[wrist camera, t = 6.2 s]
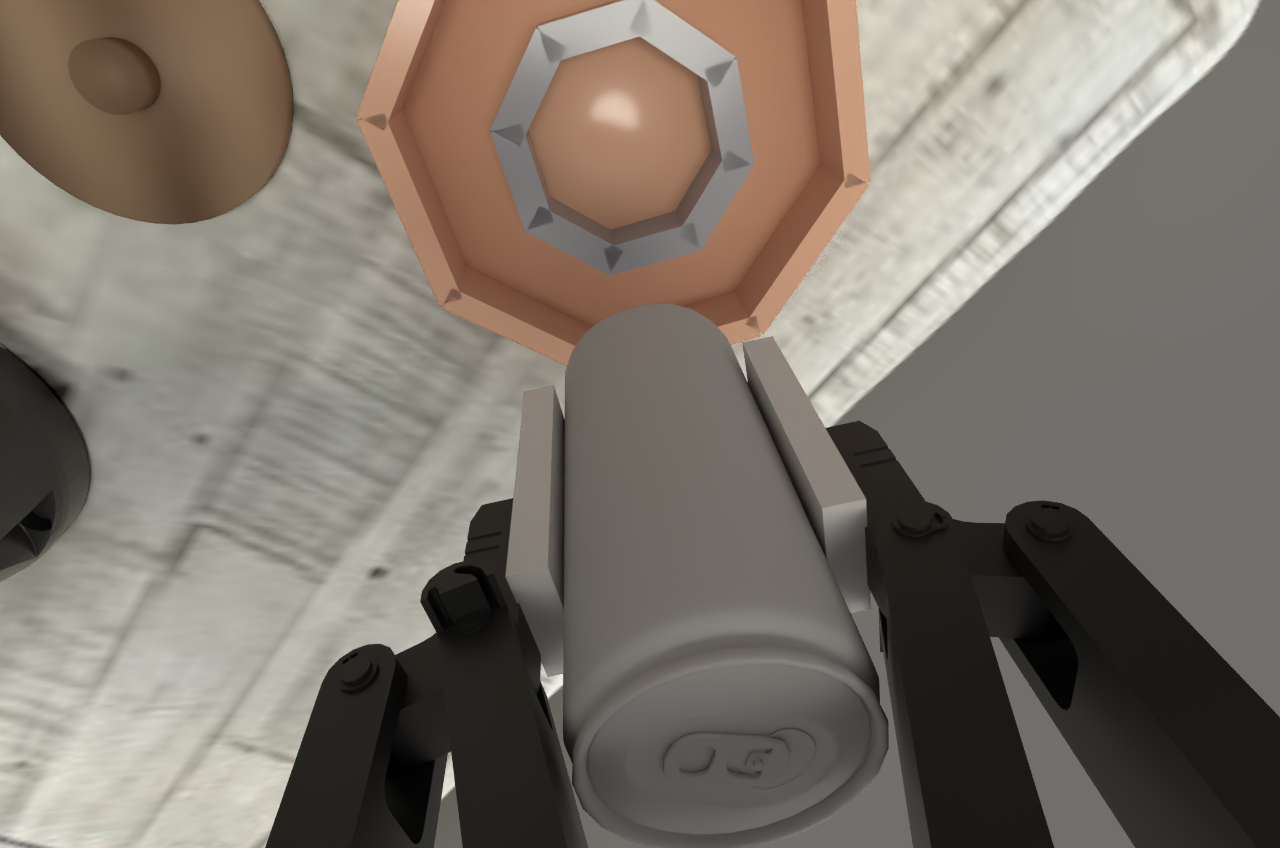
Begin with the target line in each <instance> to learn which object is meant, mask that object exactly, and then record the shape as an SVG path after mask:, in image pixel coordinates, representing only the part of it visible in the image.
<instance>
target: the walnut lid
mask: <svg viewBox="0 0 1280 848" xmlns="http://www.w3.org/2000/svg"><path fill="white" fill-rule="evenodd" d="M292 121H293V90H292V84H291V78H290V72H289V68H288V64H287V61H286V58H285V54H284V51H283V48H282V46H281V43H280V41H279V38H278V36H277V33H276V31H275V29H274V27H273V25H272V23H271V21H270V19H269V17H268V16H267V14H266V12H265V10H264V8H263V7H262V5H261V4H260V2H259V1H258V0H0V135H1V137H2V138H3V139H4V140H5V141H6V142H7V143H8V144H9V145H10V146H11V147H12V148H13V149H14V150H15V151H16V153H17V154H18V155H19V156H21V157H22V158H23V159H24V160H25V161H26V162H27V163H28V164H30V165H31V166H32V167H33V168H34V169H35V170H36V171H38V172H39V173H40V174H42V175H43V176H44V177H46V178H47V179H48V180H50V181H51V182H52V183H54V184H55V185H56V186H58V187H60V188H61V189H63V190H65V191H66V192H68V193H69V194H71V195H73V196H74V197H76V198H78V199H80V200H82V201H84V202H86V203H88V204H90V205H92V206H94V207H96V208H99V209H102V210H104V211H107V212H110V213H112V214H115V215H118V216H122V217H126V218H129V219H133V220H137V221H143V222H150V223H158V224H183V223H194V222H198V221H203V220H207V219H211V218H214V217H216V216H219V215H222V214H224V213H226V212H228V211H230V210H232V209H233V208H235V207H237V206H239V205H240V204H242V203H243V202H245V201H246V200H247V199H249V198H250V197H251V196H253V195H254V194H255V193H256V192H257V191H259V190H260V189H261V188H262V187H263V186H264V185H265V184H266V183H267V182H268V180H269V179H270V178H271V177H272V176H273V174H274V173H275V171H276V169H277V168H278V166H279V165H280V163H281V161H282V159H283V156H284V154H285V151H286V149H287V147H288V143H289V139H290V134H291V130H292Z"/></svg>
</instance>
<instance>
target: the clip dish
mask: <svg viewBox="0 0 1280 848" xmlns="http://www.w3.org/2000/svg"><path fill="white" fill-rule="evenodd" d="M357 117H359V118H360V119H359V120H357V123H358V125H359V127H360V130H361V132H362V134H363V136H364V139H365V141H366V143H367V145H368V148H369V150H370V152H371V154H372V157H373V159H374V161H375V163H376V166H377V168H378V170H379V172H380V174H381V177H382V179H383V181H384V183H385V186H386V188H387V190H388V192H389V195H390V197H391V199H392V201H393V204H394V206H395V208H396V210H397V213H398V215H399V217H400V219H401V222H402V224H403V226H404V228H405V231H406V233H407V235H408V237H409V240H410V242H411V244H412V246H413V248H414V251H415V253H416V255H417V257H418V260H419V262H420V264H421V266H422V269H423V271H424V273H425V275H426V278H427V280H428V282H429V284H430V287H431V289H432V291H433V293H434V296H435V298H436V300H437V302H438V305H442V304H443V306H442V309H445V310H447V311H449V312H451V313H453V314H455V315H458V316H460V317H462V318H464V319H466V320H468V321H471V322H473V323H475V324H477V325H479V326H481V327H484V328H486V329H488V330H490V331H492V332H494V333H497V334H499V335H501V336H503V337H505V338H507V339H510V340H512V341H514V342H516V343H518V344H520V345H523V346H525V347H527V348H529V349H531V350H533V351H536V352H538V353H540V354H542V355H544V356H546V357H549V358H551V359H553V360H555V361H557V362H559V363H562V364H564V365H566V366H567V365H568V362H569V359H570V355H571V352H572V351H573V349H574V348H575V346H576V345H577V343H578V342H579V340H580V339H581V338H582V336H583V335H584V333H586V332H587V331H588V330H589V329H591V328H592V327H593V326H594V325H596V324H597V323H598V322H599V321H601V320H602V319H605V318H607V317H609V316H611V315H613V314H615V313H618V312H620V311H622V310H626V309H629V308H633V307H637V306H641V305H645V304H666V303H671V304H675V305H678V306H682V307H686V308H689V309H693V310H694V311H696V312H698V313H699V314H701V315H703V316H704V317H706V318H708V319H709V320H711V321H712V322H713V323H714V324H715V325H716V326H717V327H718V328H719V329H720V330H721V332H722V333H723V334H724V335H725V336H726V337H727V339H728V341H729V343H730V345H731V344H734V343H738V342H741V341H745V340H748V339H752V338H756V337H759V336H760V332H761V333H763V334H764V333H765V331H766V330H767V328H768V327H769V326H770V324H771V323H772V321H773V320H774V319H775V317H776V316H777V314H778V313H779V312H780V310H781V309H782V307H783V306H784V304H785V303H786V302H787V300H788V299H789V297H790V296H791V295H792V293H793V292H794V290H795V289H796V288H797V286H798V285H799V283H800V282H801V281H802V279H803V278H804V276H805V275H806V273H807V272H808V271H809V269H810V268H811V266H812V265H813V264H814V262H815V261H816V259H817V258H818V257H819V255H820V254H821V252H822V251H823V250H824V248H825V247H826V245H827V244H828V242H829V241H830V240H831V238H832V237H833V235H834V234H835V233H836V231H837V230H838V228H839V227H840V226H841V224H842V223H843V221H844V220H845V219H846V217H847V216H848V214H849V213H850V211H851V210H852V209H853V207H854V206H855V204H856V203H857V202H858V200H859V199H860V197H861V196H862V195H863V193H864V192H865V190H866V189H867V188H868V186H869V185H868V184H866V182H869V181H870V171H869V159H868V146H867V133H866V121H865V108H864V95H863V83H862V70H861V57H860V45H859V32H858V19H857V7H856V0H398V3H397V6H396V8H395V11H394V14H393V17H392V19H391V22H390V25H389V28H388V30H387V33H386V36H385V39H384V41H383V44H382V47H381V50H380V52H379V55H378V58H377V61H376V63H375V66H374V69H373V72H372V74H371V77H370V80H369V83H368V85H367V88H366V91H365V94H364V96H363V99H362V102H361V105H360V107H359V110H358V113H357Z"/></svg>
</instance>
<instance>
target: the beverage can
mask: <svg viewBox="0 0 1280 848" xmlns="http://www.w3.org/2000/svg"><path fill="white" fill-rule="evenodd" d="M563 740H564V744H565V747H566V749H567V752H568V754H569V756H570V758H571V761H572V763H573V772H572V773H573V774H572V784H573V787H574V789H575V791H576V794H577V796H578V798H579V801H580V803H581V805H582V807H583V809H584V810H585V811H586V812H587V813H588V814H589V815H590V816H591V817H592V818H593V819H594V820H595V821H596V822H597V823H598V824H599V825H600V826H601V827H603V828H604V829H606V830H608V831H610V832H612V833H614V834H616V835H617V836H619V837H621V838H623V839H625V840H627V841H630V842H633V843H636V844H640V845H644V846H648V847H651V848H751V847H755V846H761V845H766V844H770V843H773V842H776V841H778V840H781V839H784V838H787V837H790V836H793V835H796V834H799V833H802V832H804V831H806V830H808V829H810V828H812V827H814V826H816V825H817V824H819V823H821V822H823V821H825V820H827V819H829V818H831V817H833V816H834V815H836V814H837V813H838V812H840V811H841V810H842V809H844V808H845V807H846V806H847V805H849V804H850V803H851V802H853V801H854V800H855V799H856V798H858V797H859V796H860V795H861V794H862V793H863V791H864V790H865V789H866V788H867V786H868V785H869V784H870V783H871V782H872V780H873V779H874V778H875V777H876V776H877V774H878V773H879V771H880V768H881V766H882V763H883V761H884V758H885V756H886V753H887V751H888V719H887V717H886V715H885V713H884V711H883V709H882V707H881V705H880V693H879V677H878V675H877V672H876V669H875V667H874V665H873V662H872V660H871V658H870V656H869V653H868V651H867V649H866V647H865V644H864V642H863V640H862V638H861V636H860V633H859V631H858V629H857V626H856V624H855V622H854V620H853V618H852V615H851V613H850V611H849V609H848V606H847V604H846V602H845V600H844V597H843V595H842V593H841V591H840V588H839V586H838V584H837V582H836V580H835V577H834V575H833V573H832V571H831V568H830V566H829V564H828V562H827V559H826V557H825V555H824V553H823V550H822V548H821V546H820V544H819V542H818V539H817V537H816V535H815V533H814V530H813V528H812V526H811V524H810V521H809V519H808V517H807V515H806V513H805V510H804V508H803V506H802V504H801V501H800V499H799V497H798V495H797V492H796V490H795V488H794V486H793V483H792V481H791V479H790V477H789V475H788V472H787V470H786V468H785V466H784V463H783V461H782V459H781V457H780V454H779V452H778V450H777V448H776V445H775V443H774V441H773V439H772V437H771V434H770V432H769V430H768V428H767V425H766V423H765V421H764V419H763V416H762V414H761V412H760V410H759V408H758V405H757V403H756V401H755V399H754V396H753V394H752V392H751V390H750V387H749V385H748V383H747V381H746V378H745V376H744V374H743V372H742V370H741V367H740V365H739V363H738V361H737V358H736V356H735V354H734V352H733V350H732V348H731V346H730V343H729V341H728V339H727V337H726V336H725V335H724V334H723V333H722V332H721V330H720V329H719V328H718V327H717V326H716V325H715V324H714V323H713V322H712V321H711V320H709V319H708V318H706V317H704V316H703V315H701V314H699V313H698V312H696V311H694V310H693V309H689V308H686V307H682V306H678V305H675V304H671V303H666V304H645V305H641V306H637V307H633V308H629V309H626V310H622V311H620V312H618V313H615V314H613V315H611V316H609V317H607V318H605V319H602V320H601V321H599V322H598V323H597V324H596V325H594V326H593V327H592V328H591V329H589V330H588V331H587V332H586V333H584V335H583V336H582V338H581V339H580V340H579V342H578V343H577V345H576V346H575V348H574V349H573V351H572V352H571V355H570V359H569V362H568V365H567V368H566V371H565V474H564V654H563Z"/></svg>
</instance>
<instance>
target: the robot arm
mask: <svg viewBox="0 0 1280 848" xmlns="http://www.w3.org/2000/svg"><path fill="white" fill-rule="evenodd" d="M743 350H744V357H745V364H746V371H747V379H748V385H749V387H750V390H751V392H752V394H753V396H754V399H755V401H756V403H757V405H758V408H759V410H760V412H761V414H762V416H763V419H764V421H765V423H766V425H767V428H768V430H769V432H770V434H771V437H772V439H773V441H774V443H775V445H776V448H777V450H778V452H779V454H780V457H781V459H782V461H783V463H784V466H785V468H786V470H787V472H788V475H789V477H790V479H791V481H792V483H793V486H794V488H795V490H796V492H797V495H798V497H799V499H800V501H801V504H802V506H803V508H804V510H805V513H806V515H807V517H808V519H809V521H810V524H811V526H812V528H813V530H814V533H815V535H816V537H817V539H818V542H819V544H820V546H821V548H822V550H823V553H824V555H825V557H826V559H827V562H828V564H829V566H830V568H831V571H832V573H833V575H834V577H835V580H836V582H837V584H838V586H839V588H840V591H841V593H842V595H843V597H844V600H845V602H846V604H847V606H848V609H849V611H850V613H853V612H858V611H862V610H867V609H871V603H870V590H871V593H872V594H873V596H874V599H875V600H876V602H877V605H878V607H879V628H880V652H884V659H885V665H886V672H887V679H888V685H889V691H890V698H891V704H892V711H893V718H894V724H895V731H896V738H897V744H898V751H899V757H900V764H901V771H902V776H903V783H904V789H905V797H906V803H907V810H908V816H909V823H910V830H911V836H912V842H913V848H1054V845H1053V842H1052V839H1051V835H1050V832H1049V829H1048V826H1047V822H1046V819H1045V816H1044V813H1043V809H1042V806H1041V803H1040V800H1039V796H1038V793H1037V790H1036V786H1035V783H1034V780H1033V777H1032V773H1031V770H1030V767H1029V763H1028V760H1027V757H1026V754H1025V750H1024V747H1023V744H1022V741H1021V737H1020V734H1019V731H1018V728H1017V725H1016V721H1015V718H1014V714H1013V711H1012V708H1011V705H1010V701H1009V698H1008V695H1007V692H1006V688H1005V685H1004V682H1003V679H1002V675H1001V672H1000V669H999V666H998V662H997V659H996V656H995V652H994V649H993V646H992V643H991V639H990V637H999V639H1000V640H1001V642H1002V643H1003V645H1004V646H1005V648H1006V649H1007V651H1008V652H1009V654H1010V656H1011V657H1012V659H1013V660H1014V662H1015V663H1016V665H1017V666H1018V668H1019V669H1020V671H1021V673H1022V674H1023V676H1024V677H1025V679H1026V680H1027V681H1028V683H1029V685H1030V686H1031V688H1032V689H1033V691H1034V693H1035V694H1036V696H1037V697H1038V699H1039V700H1040V702H1041V703H1042V705H1043V706H1044V708H1045V709H1046V711H1047V713H1048V714H1049V716H1050V717H1051V719H1052V720H1053V722H1054V723H1055V725H1056V726H1057V728H1058V729H1059V731H1060V733H1061V734H1062V736H1063V737H1064V738H1065V740H1066V742H1067V743H1068V745H1069V746H1070V748H1071V749H1072V751H1073V753H1074V754H1075V756H1076V757H1077V759H1078V760H1079V762H1080V763H1081V765H1082V766H1083V768H1084V769H1085V771H1086V772H1087V774H1088V775H1089V777H1090V779H1091V780H1092V782H1093V783H1094V785H1095V786H1096V788H1097V789H1098V791H1099V792H1100V794H1101V796H1102V797H1103V799H1104V800H1105V802H1106V803H1107V805H1108V806H1109V808H1110V809H1111V811H1112V812H1113V814H1114V815H1115V817H1116V819H1117V820H1118V822H1119V823H1120V825H1121V826H1122V828H1123V829H1124V831H1125V832H1126V834H1127V836H1128V837H1129V839H1130V840H1131V842H1132V843H1133V845H1134V846H1135V848H1280V717H1279V716H1278V715H1277V714H1276V713H1275V712H1274V711H1273V710H1272V709H1271V708H1270V707H1269V706H1268V705H1267V704H1266V702H1264V700H1263V699H1262V698H1261V697H1260V696H1259V695H1258V694H1257V693H1256V692H1255V691H1254V690H1253V689H1252V688H1251V687H1250V686H1249V685H1248V684H1247V683H1246V682H1245V681H1244V680H1243V679H1242V677H1240V675H1239V674H1238V673H1237V672H1236V671H1235V670H1234V669H1233V668H1232V667H1231V666H1230V665H1229V664H1228V663H1227V662H1226V661H1225V660H1224V659H1223V658H1222V657H1221V656H1220V655H1219V654H1218V653H1217V652H1216V650H1215V649H1214V648H1213V647H1212V646H1211V645H1210V644H1209V643H1208V642H1207V641H1206V640H1205V639H1204V638H1203V637H1202V636H1201V635H1200V634H1199V633H1198V632H1197V631H1196V630H1195V629H1194V628H1193V626H1192V625H1190V623H1189V622H1188V621H1187V620H1186V619H1185V618H1184V617H1183V616H1182V615H1181V614H1180V613H1179V612H1178V611H1177V610H1176V609H1175V608H1174V607H1173V606H1172V605H1171V604H1170V603H1169V602H1168V600H1166V599H1165V597H1164V596H1163V595H1162V594H1161V593H1160V592H1159V591H1158V590H1157V589H1156V588H1155V587H1154V586H1153V585H1152V584H1151V583H1150V582H1149V581H1148V580H1147V579H1146V578H1145V577H1144V576H1143V574H1141V572H1140V571H1139V570H1138V569H1137V568H1136V567H1135V566H1134V565H1133V564H1132V563H1131V562H1130V561H1129V560H1128V559H1127V558H1126V557H1125V556H1124V555H1123V554H1122V553H1121V552H1120V551H1119V550H1118V548H1117V547H1116V546H1115V545H1114V544H1113V543H1112V542H1111V541H1110V540H1109V539H1108V538H1107V537H1106V536H1105V535H1104V534H1103V533H1102V532H1101V531H1100V530H1099V529H1098V528H1097V527H1096V526H1095V525H1094V523H1093V522H1092V521H1091V520H1090V519H1089V518H1088V517H1086V516H1085V515H1083V514H1082V513H1081V512H1079V511H1078V510H1077V509H1075V508H1072V507H1069V506H1066V505H1064V504H1061V503H1057V502H1050V501H1033V502H1026V503H1023V504H1020V505H1018V506H1015V507H1014V508H1013V509H1012V510H1011V511H1010V512H1009V513H1008V514H1007V516H1006V521H1005V523H973V522H963V521H959V520H955V519H952V517H951V516H950V514H949V513H948V512H947V511H945V510H944V509H942V508H941V507H939V506H938V505H935V504H932V503H928V502H926V501H925V500H924V498H923V497H922V495H921V494H920V493H919V491H918V490H917V488H916V487H915V485H914V484H913V482H912V481H911V480H910V478H909V477H908V475H907V474H906V472H905V471H904V469H903V468H902V466H901V465H900V463H899V462H898V461H896V458H895V456H894V455H893V453H892V452H891V450H890V449H888V446H887V445H886V443H885V442H884V440H883V439H882V437H881V436H880V434H879V433H878V431H876V430H874V429H873V428H871V427H869V426H868V425H866V424H864V423H862V422H861V421H856V422H851V423H847V424H842V425H838V426H833V427H828V428H825V427H824V425H823V423H822V422H821V420H820V418H819V416H818V415H817V413H816V411H815V409H814V408H813V406H812V404H811V402H810V401H809V399H808V397H807V395H806V394H805V392H804V390H803V389H802V387H801V385H800V383H799V382H798V380H797V378H796V376H795V375H794V373H793V371H792V369H791V368H790V366H789V364H788V362H787V361H786V359H785V357H784V355H783V354H782V352H781V350H780V349H779V347H778V345H777V343H776V342H775V340H774V338H773V336H771V337H767V338H763V339H758V340H754V341H749V342H745V343H743ZM564 474H565V420H564V417H563V413H562V410H561V407H560V404H559V401H558V397H557V394H556V391H555V388H554V385H553V386H549V387H544V388H540V389H535V390H531V391H527V392H524V401H523V411H522V420H521V430H520V440H519V449H518V459H517V469H516V479H515V488H514V498H512V499H508V500H503V501H498V502H494V503H489V504H485V505H482V506H481V507H480V509H479V510H478V512H477V513H476V515H475V516H474V518H473V519H472V520H471V522H470V527H469V533H468V538H467V539H468V542H467V544H466V550H465V555H466V556H464V561H463V562H459V563H455V564H452V565H450V566H449V567H447V568H445V569H443V570H441V571H439V572H438V573H437V574H436V575H435V576H434V577H432V578H431V579H430V580H429V581H428V583H427V584H426V586H425V588H424V589H423V591H422V595H421V601H420V602H421V604H422V606H423V608H424V610H425V611H426V613H427V615H428V617H429V619H430V621H431V623H432V625H433V627H434V628H435V630H436V632H437V633H435V634H434V635H433V636H432V637H430V638H428V639H427V640H425V641H423V642H421V643H419V644H417V645H415V646H413V647H411V648H409V649H407V650H405V651H403V652H401V653H399V654H396V655H395V654H394V653H393V651H392V650H391V648H390V647H387V646H384V645H382V644H371V645H365V646H362V647H360V648H357V649H354V650H352V651H351V652H349V653H348V654H346V655H345V656H343V657H342V658H340V659H339V660H338V661H337V662H336V663H335V664H334V665H333V666H332V667H331V668H330V669H329V671H328V673H327V675H326V676H325V678H324V680H323V682H322V684H321V687H320V690H319V693H318V696H317V699H316V702H315V705H314V708H313V711H312V714H311V716H310V719H309V722H308V725H307V728H306V731H305V734H304V737H303V740H302V743H301V745H300V748H299V751H298V754H297V757H296V760H295V763H294V766H293V769H292V772H291V775H290V777H289V780H288V783H287V786H286V789H285V792H284V795H283V798H282V801H281V804H280V807H279V809H278V812H277V815H276V818H275V821H274V824H273V827H272V830H271V833H270V836H269V838H268V841H267V844H266V847H265V848H434V842H435V835H436V829H437V822H438V815H439V809H440V802H441V795H442V789H443V782H444V775H445V768H446V762H447V755H448V753H449V752H450V751H451V753H452V762H453V770H454V778H455V787H456V795H457V803H458V811H459V820H460V827H461V836H462V845H463V848H588V845H587V842H586V838H585V835H584V831H583V827H582V823H581V820H580V816H579V812H578V809H577V805H576V801H575V798H574V794H573V790H572V787H571V784H570V780H569V776H568V772H567V768H566V765H565V761H564V758H563V754H562V750H561V747H560V743H559V740H558V736H557V732H556V728H555V725H554V721H553V717H552V714H551V710H550V706H549V703H548V699H547V695H546V693H545V691H544V688H543V686H542V684H541V681H540V668H541V662H542V664H543V666H544V669H545V671H546V673H547V676H548V677H549V676H553V675H558V674H563V654H564ZM88 488H89V464H88V459H87V454H86V451H85V447H84V444H83V442H82V439H81V437H80V434H79V432H78V430H77V428H76V426H75V424H74V423H73V421H72V419H71V418H70V416H69V414H68V413H67V411H66V410H65V408H64V407H63V406H62V404H61V403H60V402H59V400H58V399H57V398H56V397H55V395H54V394H53V393H52V392H51V391H50V390H49V389H48V387H47V386H46V385H45V384H44V383H43V382H42V381H41V380H40V379H39V378H38V377H37V376H36V375H35V374H34V373H32V372H31V371H30V370H29V369H28V368H27V367H26V366H25V365H23V364H22V363H21V362H20V361H18V360H17V359H16V358H15V357H13V356H12V355H11V354H9V353H8V352H7V351H5V350H4V349H3V348H1V347H0V582H1V581H3V580H5V579H7V578H8V577H10V576H12V575H14V574H16V573H17V572H19V571H21V570H23V569H24V568H26V567H28V566H29V565H31V564H32V563H33V562H35V561H36V560H37V559H38V558H40V557H41V556H42V555H43V554H44V553H46V552H47V551H48V550H49V549H50V548H51V546H52V545H53V544H54V543H55V542H56V541H57V540H58V539H59V537H60V536H61V535H62V534H63V533H64V532H65V531H66V530H67V529H68V527H69V526H70V525H71V524H72V523H73V522H74V521H75V519H76V518H77V516H78V515H79V513H80V511H81V510H82V508H83V506H84V503H85V500H86V497H87V493H88Z"/></svg>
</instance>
